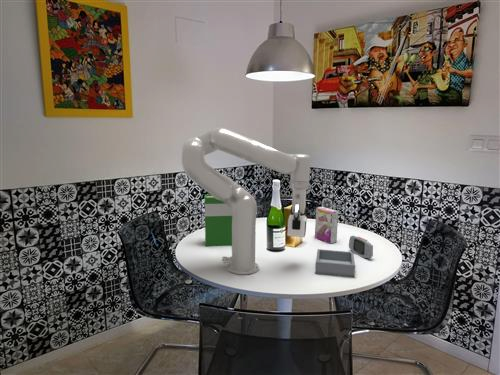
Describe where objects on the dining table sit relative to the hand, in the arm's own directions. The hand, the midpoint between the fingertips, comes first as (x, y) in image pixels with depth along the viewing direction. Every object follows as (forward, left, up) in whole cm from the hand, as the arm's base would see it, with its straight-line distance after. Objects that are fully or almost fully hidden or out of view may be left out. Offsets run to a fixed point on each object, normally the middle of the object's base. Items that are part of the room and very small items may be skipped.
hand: (296, 226), depth 152 cm
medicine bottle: (0, 0, -4) cm, 4 cm away
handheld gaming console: (+28, +19, -17) cm, 38 cm away
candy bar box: (+12, +36, -17) cm, 41 cm away
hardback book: (-37, +19, -17) cm, 45 cm away
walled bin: (+16, 0, -17) cm, 23 cm away
